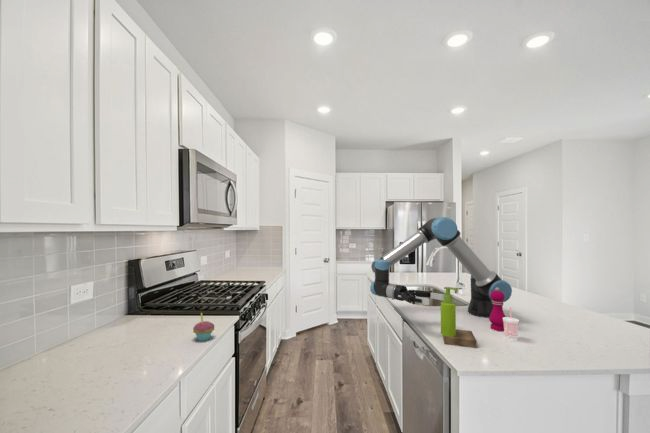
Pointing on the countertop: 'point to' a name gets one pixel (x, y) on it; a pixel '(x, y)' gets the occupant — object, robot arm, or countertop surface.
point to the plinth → (461, 339)
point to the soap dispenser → (448, 314)
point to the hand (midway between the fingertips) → (436, 299)
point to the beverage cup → (511, 328)
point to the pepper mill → (497, 310)
